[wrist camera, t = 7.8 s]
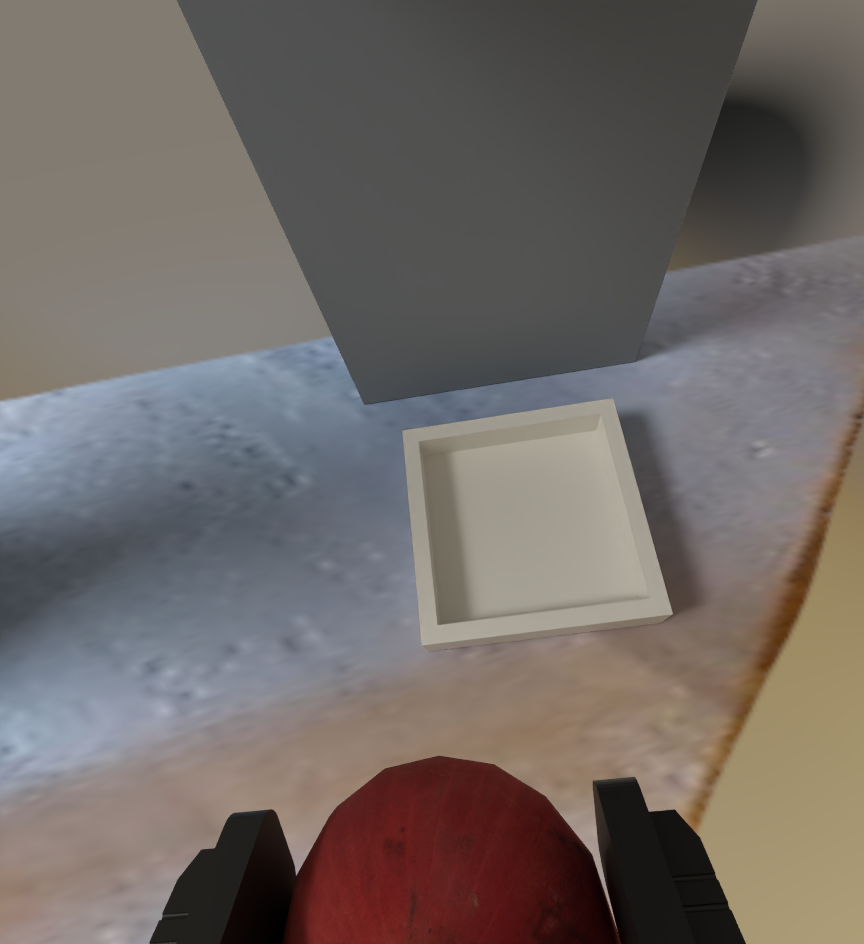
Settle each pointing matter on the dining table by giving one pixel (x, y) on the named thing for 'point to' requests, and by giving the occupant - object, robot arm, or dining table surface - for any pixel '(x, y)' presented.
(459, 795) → the onion
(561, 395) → the dining table surface
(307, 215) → the inverted l bracket
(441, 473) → the tray
